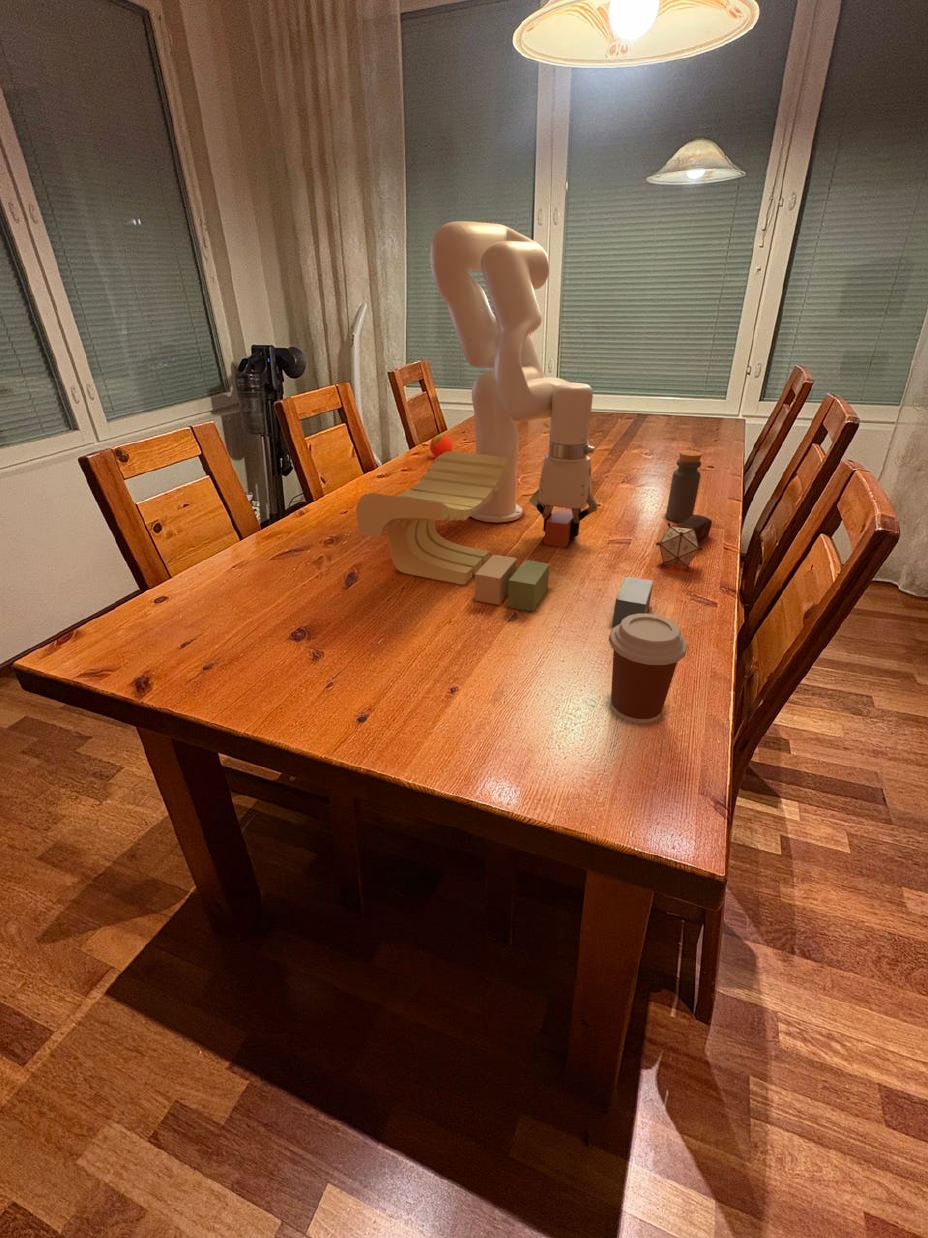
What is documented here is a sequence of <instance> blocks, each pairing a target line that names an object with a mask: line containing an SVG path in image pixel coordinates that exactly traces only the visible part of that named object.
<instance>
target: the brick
mask: <svg viewBox="0 0 928 1238" xmlns="http://www.w3.org/2000/svg"><path fill="white" fill-rule="evenodd" d="M712 523H713V521H712V519H710V518H709V517H707V516H704V515H700V514H693V515H692V516H691V517H690V518H688V519H687V520H685V521H684V522H679V524H677V526H676V527H681V528H690V529H694V527H695V526H697V528H696V529H695V533H696V537H697V541H698V545H699V544H700V543H702V542H703V541H705V540H706V539H707V538H708V537H709V534H710V531H711V528H712Z"/></svg>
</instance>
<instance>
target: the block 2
mask: <svg viewBox="0 0 928 1238" xmlns="http://www.w3.org/2000/svg"><path fill="white" fill-rule="evenodd" d="M550 569H551V563H548V562H541V561H536V560H530V559H525V560H524V561H522V563H521V564H520V566H519V567H517V570H516V572H515V573H514V574H513V575H512V577H511V578H510V579H509V586H508V594H507V607H508V608H512V609H517V610H522V611H528V612H534V611H535V610H536V608H537V607H538V606H539V604H540V602H541V601H542V599H543V597H544V596H545V594H546V593H547V591H548V590H549V583H550Z"/></svg>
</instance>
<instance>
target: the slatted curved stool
mask: <svg viewBox="0 0 928 1238" xmlns="http://www.w3.org/2000/svg"><path fill="white" fill-rule="evenodd" d="M508 472H509V458H507V457H498V456H489V455H480V454H476V453H469V452H461V451H454V450H452V451H449V452H445V453H443V454H441V455H440V456H438V457H435V459H434V461H433V463H432V464H431V465H430V466H428V468H427V470H426V472H425V473H424V474H423V475H422V476H421V478H420V480H419V481H418V482H416V483H415V484H413V486H411V487H410V488H409V489H407V490H405V491H404V492H402V493H400V494H398V496H395V495H387V494H381V493H375V492H367V493H366V494H364V495H362V496H361V497H360V498H359V499H358V501H357V504H356V507H355V508H356V511H355V512H356V513H355V514H356V522H357V523H356V524H357V534H359V535H364V536H370V537H375V538H381V537H382V536H383V535H384V534H386V537H387V542H388V550H389V556H390V559H391V561H392V564H393V565H394V567H395V568H396V569H397V570H398V571H399V572H400V573H402V574H407V575H412V576H416V577H421V578H422V577H423V578H428V579H432V580H436V581H442V582H448V583H452V584H456V585H457V584H458V585H463V586H465V585H466V584H467V583H468V582H469V581H470V580H471V579H472V578H473V576H475V573H476V572H477V571H478V570H479V569H480V568H481V567H482V566H483V565H484V564H485V563H486V562H487V561H488V560H489V559H490V558H491V557H492V556H491V551H490V550H484V549H481V548H475V547H471V546H465V545H461V544H458V543H456V542H453V541H450V540H447V539H446V538H444V537H443V536H441V535H440V533H438V531H437V530H436V521H465V520H468V518H470V517H471V515H472V514H473V512H476V511H477V510H478V509H480V508H481V507H482V506H483V504H486V503H487V502H489V501H490V500H491V499H492V498H493V492H495V491H497V490H498V483H501V482H502V481H504V474H507V473H508Z"/></svg>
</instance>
